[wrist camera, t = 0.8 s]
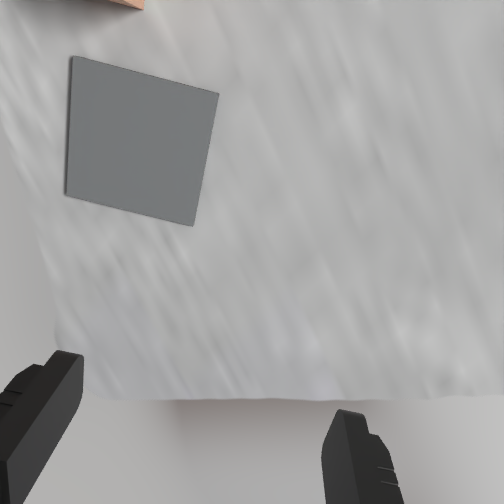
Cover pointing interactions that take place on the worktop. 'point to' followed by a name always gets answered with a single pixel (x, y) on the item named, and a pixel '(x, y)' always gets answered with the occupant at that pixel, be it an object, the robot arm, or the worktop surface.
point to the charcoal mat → (137, 141)
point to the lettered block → (131, 3)
